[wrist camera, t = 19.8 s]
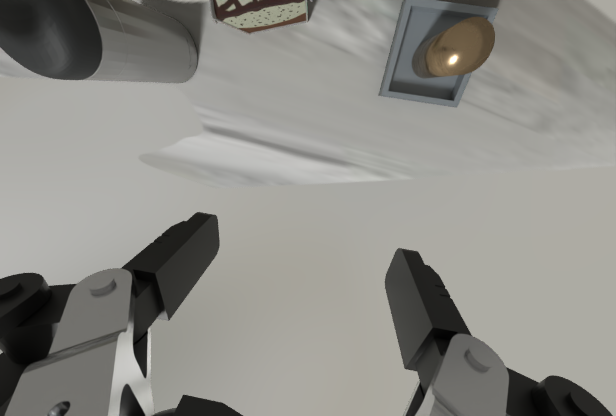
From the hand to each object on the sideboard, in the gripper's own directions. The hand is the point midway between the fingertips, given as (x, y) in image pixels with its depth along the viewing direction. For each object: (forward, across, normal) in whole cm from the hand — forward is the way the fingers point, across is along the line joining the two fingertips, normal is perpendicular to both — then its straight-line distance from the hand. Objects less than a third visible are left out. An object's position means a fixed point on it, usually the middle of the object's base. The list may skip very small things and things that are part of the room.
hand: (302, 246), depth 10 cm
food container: (+34, +11, -16) cm, 39 cm away
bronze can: (+34, -13, -12) cm, 38 cm away
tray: (+34, -13, -12) cm, 38 cm away
